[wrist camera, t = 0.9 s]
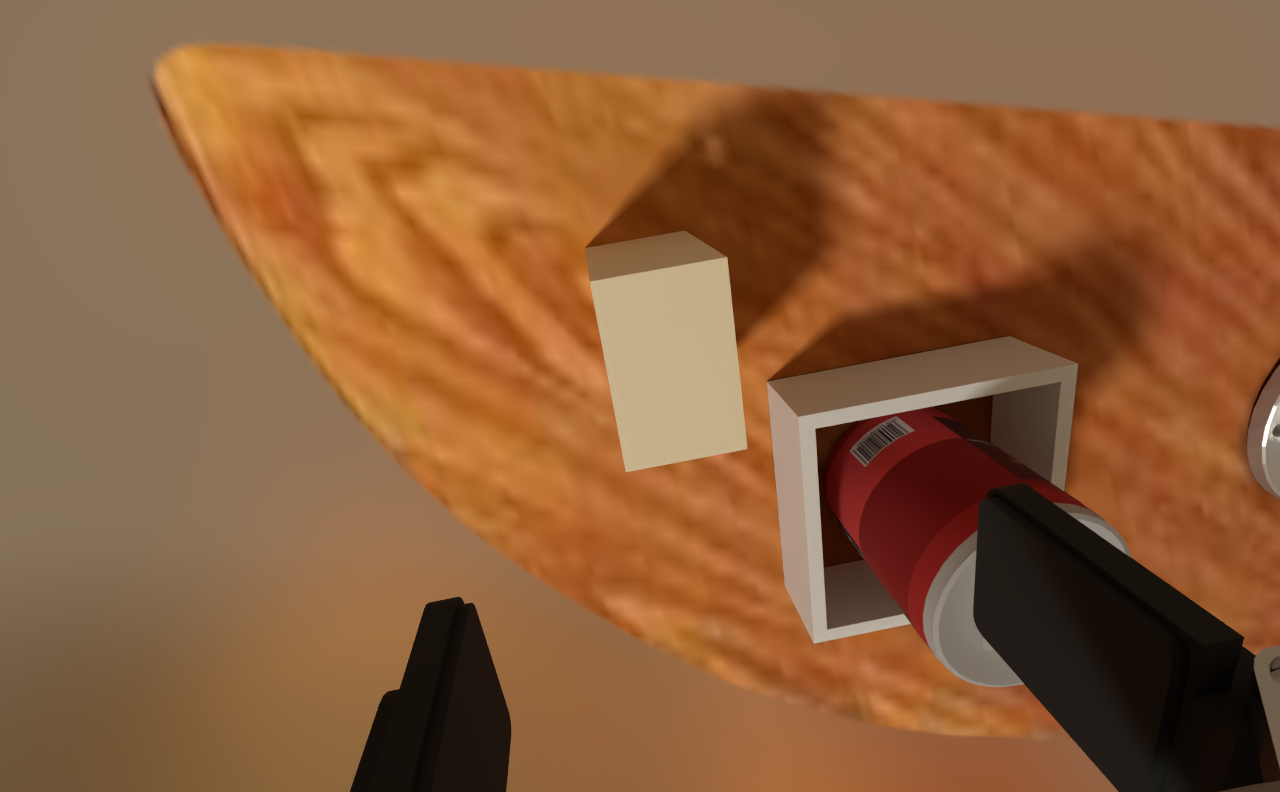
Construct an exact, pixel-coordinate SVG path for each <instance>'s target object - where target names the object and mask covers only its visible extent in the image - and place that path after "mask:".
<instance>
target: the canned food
mask: <svg viewBox="0 0 1280 792" xmlns="http://www.w3.org/2000/svg"><path fill="white" fill-rule="evenodd" d="M1019 483H1023V484H1026V485H1028V486H1030V487H1031V488H1033V489H1034V490H1035V491H1037V492H1038V493H1040V494H1041V495H1043V496H1044V497H1045V498H1047V499H1048V500H1050V501H1051V502H1053V503H1054V504H1055V505H1057V506H1058V507H1060V508H1061V509H1062V510H1064V511H1065V512H1067V513H1068V514H1070V515H1071V516H1072V517H1074V518H1075V519H1077V520H1078V521H1080V522H1081V523H1082V524H1084V525H1085V526H1087V527H1088V528H1089V529H1091V530H1092V531H1094V532H1095V533H1097V534H1098V535H1099V536H1101V537H1102V538H1104V539H1105V540H1107V541H1108V542H1109V543H1111V544H1112V545H1114V546H1115V547H1116V548H1118V549H1119V550H1121V551H1122V552H1124V553H1125V554H1126V555H1128V556H1129V557H1130V552H1129V550H1128V547H1127V545H1126V543H1125V541H1124V539H1123V538H1122V536H1121V535H1120V534H1119V533H1118V532H1117V531H1116V530H1115V528H1114V527H1112V526H1111V525H1109V524H1108V523H1107V522H1106V521H1105V520H1104V519H1103V518H1102V517H1101V516H1099V515H1098V514H1096V513H1095V512H1093V511H1092V510H1090V509H1089V508H1087V507H1086V506H1085V505H1083V504H1082V503H1081V502H1079V501H1078V500H1076V499H1075V498H1073V497H1072V496H1070V495H1069V494H1067V493H1066V492H1064V491H1063V490H1061V489H1060V488H1058V487H1057V486H1055V485H1054V484H1052V483H1051V482H1049V481H1048V480H1046V479H1045V478H1043V477H1042V476H1040V475H1039V474H1037V473H1036V472H1034V471H1033V470H1031V469H1030V468H1028V467H1027V466H1025V465H1024V464H1022V463H1021V462H1019V461H1018V460H1016V459H1015V458H1013V457H1012V456H1010V455H1008V454H1007V453H1005V452H1004V451H1002V450H1001V449H999V448H998V447H996V446H995V445H993V444H992V443H990V442H989V441H987V440H986V439H984V438H983V437H981V436H980V435H978V434H977V433H975V432H974V431H972V430H971V429H969V428H968V427H966V426H965V425H963V424H962V423H960V422H959V421H957V420H956V419H954V418H953V417H951V416H950V415H948V414H946V413H945V412H943V411H941V410H938V409H935V408H932V407H927V408H921V409H916V410H911V411H906V412H900V413H895V414H890V415H885V416H880V417H874V418H869V419H864V420H859V421H858V422H856V423H855V424H854V425H853V426H852V427H851V428H850V429H849V430H848V431H847V432H846V433H845V434H844V435H843V436H842V438H841V439H840V440H839V442H838V443H837V444H836V446H835V448H834V450H833V452H832V454H831V456H830V458H829V461H828V464H827V468H826V473H825V490H826V497H827V502H828V505H829V508H830V511H831V514H832V515H833V517H834V518H835V520H836V521H837V523H838V524H839V526H840V527H841V528H842V530H843V531H844V533H845V534H846V535H847V537H848V538H849V539H850V541H851V542H852V544H853V545H854V546H855V548H856V549H857V550H858V552H859V553H860V555H861V556H862V557H863V559H864V560H865V561H866V563H867V564H868V566H869V567H870V568H871V570H872V571H873V572H874V574H875V575H876V577H877V578H878V579H879V581H880V582H881V583H882V585H883V586H884V588H885V589H886V590H887V592H888V593H889V594H890V596H891V597H892V599H893V600H894V601H895V603H896V604H897V605H898V607H899V608H900V609H901V611H902V612H903V614H904V615H905V616H906V618H907V619H908V620H909V622H910V623H911V625H912V626H913V627H914V629H915V630H916V631H917V633H918V634H919V636H920V637H921V638H922V639H923V640H924V642H925V643H926V644H927V646H928V647H929V648H930V650H931V651H932V652H933V654H934V655H935V656H936V658H938V659H939V660H940V661H941V662H942V663H943V664H944V666H945V667H946V668H947V669H948V670H950V671H951V672H952V673H953V674H954V675H955V676H957V677H959V678H961V679H963V680H965V681H967V682H969V683H973V684H977V685H981V686H987V687H1006V686H1014V685H1021V684H1024V683H1023V682H1022V681H1021V680H1020V678H1019V677H1018V676H1017V675H1016V674H1015V673H1014V672H1013V670H1012V669H1011V668H1010V667H1009V666H1008V665H1007V664H1006V662H1005V661H1004V660H1003V659H1002V658H1001V657H1000V656H999V654H998V653H997V652H996V651H995V650H994V649H993V648H992V646H991V645H990V644H989V643H988V642H987V641H986V640H985V639H984V637H983V636H982V635H981V634H980V632H979V631H978V629H977V627H976V624H975V622H974V618H973V603H974V584H975V566H976V548H977V530H978V512H979V503H980V501H981V500H982V499H985V498H986V494H987V493H988V491H989V490H991V489H994V488H999V487H1004V486H1009V485H1014V484H1019Z"/></svg>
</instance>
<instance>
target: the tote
mask: <svg viewBox="0 0 1280 792" xmlns="http://www.w3.org/2000/svg"><path fill="white" fill-rule="evenodd" d="M1077 370H1078V363H1075V362H1073V361H1070V360H1068V359H1065V358H1063V357H1060V356H1058V355H1055V354H1053V353H1050V352H1048V351H1045V350H1043V349H1040V348H1038V347H1036V346H1033V345H1031V344H1028V343H1026V342H1023V341H1021V340H1018V339H1016V338H1013V337H1011V336H1007V337H1002V338H997V339H991V340H986V341H981V342H975V343H970V344H965V345H959V346H954V347H949V348H943V349H938V350H933V351H927V352H922V353H917V354H911V355H906V356H901V357H895V358H890V359H885V360H879V361H874V362H869V363H863V364H858V365H853V366H847V367H842V368H837V369H831V370H826V371H821V372H815V373H810V374H805V375H799V376H794V377H789V378H783V379H778V380H773V381H767V388H768V400H769V411H770V422H771V434H772V445H773V456H774V468H775V479H776V491H777V502H778V513H779V525H780V536H781V548H782V559H783V570H784V582H785V587H786V589H787V591H788V593H789V595H790V597H791V599H792V601H793V603H794V605H795V607H796V609H797V611H798V613H799V615H800V617H801V619H802V621H803V623H804V625H805V627H806V629H807V631H808V633H809V635H810V637H811V638H812V640H813V642H814V644H815V643H819V642H824V641H829V640H834V639H839V638H844V637H848V636H853V635H858V634H863V633H868V632H873V631H878V630H882V629H887V628H892V627H897V626H902V625H907V624H911V623H910V622H909V620H908V619H907V618H906V616H905V615H904V614H903V612H902V611H901V609H900V608H899V607H898V605H897V604H896V603H895V601H894V600H893V599H892V597H891V596H890V594H889V593H888V592H887V590H886V589H885V588H884V586H883V585H882V583H881V582H880V581H879V579H878V578H877V577H876V575H875V574H874V572H873V571H872V570H871V568H870V567H869V566H868V564H867V563H866V561H865V560H859V561H854V562H849V563H844V564H839V565H834V566H829V567H824V568H823V551H822V534H821V517H820V500H819V483H818V466H817V449H816V432H815V429H817V428H822V427H827V426H833V425H838V424H843V423H848V422H853V421H859V420H864V419H869V418H874V417H880V416H885V415H890V414H895V413H900V412H906V411H911V410H916V409H921V408H927V407H932V406H937V405H942V404H947V403H953V402H958V401H963V400H968V399H974V398H979V397H984V396H989V395H993V402H992V420H991V438H990V443H992V444H993V445H995V446H996V447H998V448H999V449H1001V450H1002V451H1004V452H1005V453H1007V454H1008V455H1010V456H1012V457H1013V458H1015V459H1016V460H1018V461H1019V462H1021V463H1022V464H1024V465H1025V466H1027V467H1028V468H1030V469H1031V470H1033V471H1034V472H1036V473H1037V474H1039V475H1040V476H1042V477H1043V478H1045V479H1046V480H1048V481H1049V482H1051V483H1052V484H1054V485H1055V486H1057V487H1058V488H1060V489H1061V490H1063V491H1064V490H1065V481H1066V471H1067V462H1068V453H1069V444H1070V435H1071V425H1072V416H1073V407H1074V398H1075V389H1076V380H1077Z"/></svg>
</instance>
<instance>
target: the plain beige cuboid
mask: <svg viewBox="0 0 1280 792" xmlns="http://www.w3.org/2000/svg"><path fill="white" fill-rule="evenodd" d="M585 253H586V259H587V266H588V272H589V278H590V284H591V290H592V295H593V300H594V306H595V311H596V316H597V321H598V327H599V332H600V337H601V343H602V348H603V353H604V359H605V364H606V369H607V375H608V380H609V385H610V390H611V396H612V401H613V406H614V412H615V417H616V422H617V428H618V433H619V438H620V444H621V449H622V454H623V459H624V465H625V470H626V472H630V471H635V470H640V469H645V468H651V467H656V466H661V465H666V464H671V463H677V462H682V461H687V460H692V459H698V458H703V457H708V456H713V455H719V454H724V453H729V452H734V451H740V450H745V449H747V441H746V432H745V422H744V412H743V403H742V393H741V384H740V374H739V365H738V355H737V346H736V336H735V326H734V317H733V307H732V298H731V288H730V279H729V269H728V259H727V257H726V256H725V255H723V254H722V253H720V252H718V251H717V250H715V249H714V248H712V247H710V246H709V245H707V244H706V243H704V242H703V241H701V240H699V239H698V238H696V237H695V236H693V235H691V234H690V233H688V232H687V231H679V232H674V233H668V234H662V235H657V236H651V237H645V238H640V239H634V240H628V241H623V242H617V243H611V244H606V245H600V246H594V247H589V248H585Z"/></svg>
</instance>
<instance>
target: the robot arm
mask: <svg viewBox="0 0 1280 792" xmlns="http://www.w3.org/2000/svg"><path fill="white" fill-rule="evenodd" d="M1247 453H1248V460H1249V466H1250V468H1251V470H1252V473H1253V475H1254V477H1255V479H1256V480H1257V482H1258V483H1259V484H1260V485H1261V486H1262V487H1263V489H1264V490H1265V491H1267V492H1268V493H1270V494H1272V495H1273V496H1275V497H1276V498H1278V499H1280V364H1279V366H1278V367H1277V368H1276V369H1275V371H1274V372H1273V374H1272V375H1271V377H1270V379H1269V380H1268V382H1267V383H1266V385H1265V386H1264V388H1263V390H1262V392H1261V394H1260V396H1259V399H1258V401H1257V403H1256V405H1255V407H1254V410H1253V413H1252V417H1251V421H1250V424H1249V428H1248V437H1247ZM973 618H974V622H975V624H976V627H977V629H978V631H979V632H980V634H981V635H982V636H983V637H984V639H985V640H986V641H987V642H988V643H989V644H990V645H991V646H992V648H993V649H994V650H995V651H996V652H997V653H998V654H999V656H1000V657H1001V658H1002V659H1003V660H1004V661H1005V662H1006V664H1007V665H1008V666H1009V667H1010V668H1011V669H1012V670H1013V672H1014V673H1015V674H1016V675H1017V676H1018V677H1019V678H1020V680H1021V681H1022V682H1023V683H1024V684H1025V685H1026V686H1027V688H1028V689H1029V690H1030V691H1031V692H1032V693H1033V694H1034V696H1035V697H1036V698H1037V699H1038V700H1039V701H1040V702H1041V703H1042V705H1043V706H1044V707H1045V708H1046V709H1047V710H1048V711H1049V713H1050V714H1051V715H1052V716H1053V717H1054V718H1055V719H1056V721H1057V722H1058V723H1059V724H1060V725H1061V726H1062V727H1063V729H1064V730H1065V731H1066V732H1067V733H1068V734H1069V735H1070V737H1071V738H1072V739H1073V740H1074V741H1075V742H1076V743H1077V744H1078V746H1079V747H1080V748H1081V749H1082V750H1083V751H1084V752H1085V754H1086V755H1087V756H1088V757H1089V758H1090V759H1091V760H1092V762H1093V763H1094V764H1095V765H1096V766H1097V767H1098V768H1099V770H1100V771H1101V772H1102V773H1103V774H1104V775H1105V776H1106V777H1107V778H1108V780H1109V781H1110V782H1111V783H1112V784H1113V785H1114V787H1115V788H1116V789H1117V790H1118V791H1119V792H1280V646H1274V647H1271V648H1268V649H1264V650H1262V651H1261V652H1260V653H1259V654H1258V655H1257V656H1255V655H1254V654H1252V653H1251V652H1250V651H1248V650H1247V649H1246V648H1244V647H1243V646H1242V644H1243V640H1244V637H1243V636H1242V635H1240V634H1239V633H1237V632H1236V631H1234V630H1233V629H1232V628H1230V627H1229V626H1227V625H1226V624H1225V623H1223V622H1222V621H1220V620H1219V619H1217V618H1216V617H1215V616H1213V615H1212V614H1210V613H1209V612H1207V611H1206V610H1205V609H1203V608H1202V607H1200V606H1199V605H1198V604H1196V603H1195V602H1193V601H1192V600H1190V599H1189V598H1188V597H1186V596H1185V595H1183V594H1182V593H1180V592H1179V591H1178V590H1176V589H1175V588H1173V587H1172V586H1170V585H1169V584H1168V583H1166V582H1165V581H1163V580H1162V579H1161V578H1159V577H1158V576H1156V575H1155V574H1153V573H1152V572H1151V571H1149V570H1148V569H1146V568H1145V567H1143V566H1142V565H1141V564H1139V563H1138V562H1136V561H1135V560H1134V559H1132V558H1131V557H1129V556H1128V555H1126V554H1125V553H1124V552H1122V551H1121V550H1119V549H1118V548H1116V547H1115V546H1114V545H1112V544H1111V543H1109V542H1108V541H1107V540H1105V539H1104V538H1102V537H1101V536H1099V535H1098V534H1097V533H1095V532H1094V531H1092V530H1091V529H1089V528H1088V527H1087V526H1085V525H1084V524H1082V523H1081V522H1080V521H1078V520H1077V519H1075V518H1074V517H1072V516H1071V515H1070V514H1068V513H1067V512H1065V511H1064V510H1062V509H1061V508H1060V507H1058V506H1057V505H1055V504H1054V503H1053V502H1051V501H1050V500H1048V499H1047V498H1045V497H1044V496H1043V495H1041V494H1040V493H1038V492H1037V491H1035V490H1034V489H1033V488H1031V487H1030V486H1028V485H1026V484H1023V483H1019V484H1014V485H1009V486H1004V487H999V488H994V489H991V490H989V491H988V493H987V494H986V498H985V499H982V500H981V501H980V503H979V512H978V530H977V548H976V566H975V584H974V603H973ZM510 741H511V721H510V715H509V711H508V708H507V705H506V702H505V698H504V695H503V692H502V689H501V686H500V683H499V680H498V677H497V673H496V670H495V667H494V664H493V661H492V657H491V654H490V651H489V648H488V645H487V642H486V639H485V636H484V632H483V629H482V626H481V623H480V620H479V617H478V614H477V611H476V608H475V605H474V604H473V603H468V604H464V602H463V600H462V598H461V597H455V598H450V599H445V600H440V601H435V602H430V603H428V604H426V606H425V608H424V611H423V615H422V618H421V621H420V625H419V628H418V631H417V634H416V638H415V641H414V644H413V648H412V651H411V654H410V657H409V660H408V663H407V667H406V670H405V673H404V677H403V680H402V683H401V686H400V689H398V690H393V691H388V692H387V693H386V694H385V695H384V696H383V697H382V700H381V702H380V704H379V707H378V710H377V713H376V716H375V719H374V722H373V725H372V728H371V731H370V734H369V737H368V740H367V742H366V745H365V749H364V751H363V754H362V757H361V760H360V763H359V766H358V769H357V772H356V775H355V778H354V781H353V784H352V787H351V790H350V792H506V786H507V776H508V765H509V764H508V763H509V754H510V743H511V742H510Z"/></svg>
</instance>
